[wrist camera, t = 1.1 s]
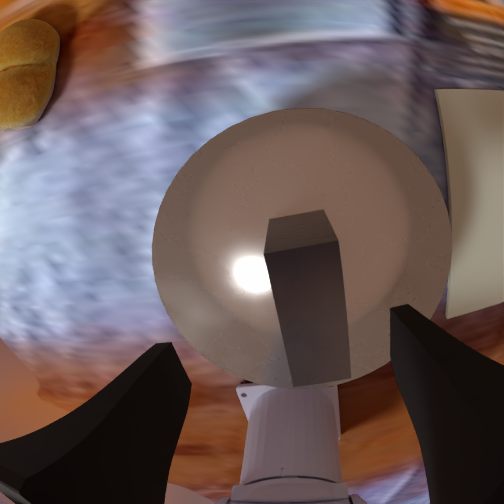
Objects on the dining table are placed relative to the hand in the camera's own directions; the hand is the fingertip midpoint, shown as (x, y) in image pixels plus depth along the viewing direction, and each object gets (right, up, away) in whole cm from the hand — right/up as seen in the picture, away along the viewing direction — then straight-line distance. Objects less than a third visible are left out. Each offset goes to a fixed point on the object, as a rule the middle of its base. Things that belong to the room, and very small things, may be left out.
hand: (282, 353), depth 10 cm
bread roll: (-18, +17, +7) cm, 26 cm away
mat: (+19, +7, +7) cm, 21 cm away
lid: (+2, +2, +6) cm, 6 cm away
